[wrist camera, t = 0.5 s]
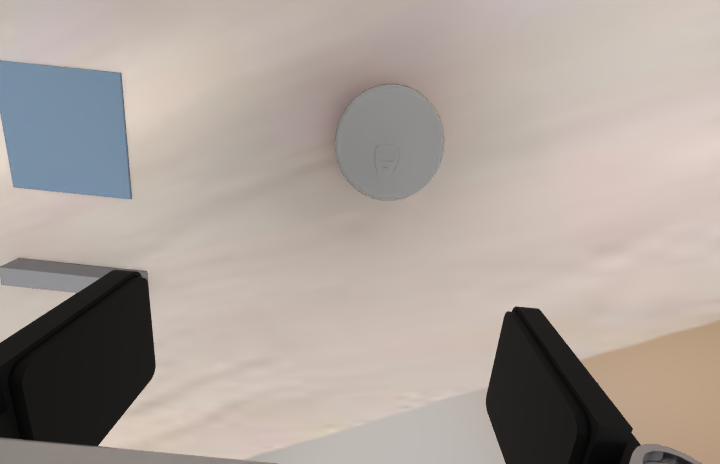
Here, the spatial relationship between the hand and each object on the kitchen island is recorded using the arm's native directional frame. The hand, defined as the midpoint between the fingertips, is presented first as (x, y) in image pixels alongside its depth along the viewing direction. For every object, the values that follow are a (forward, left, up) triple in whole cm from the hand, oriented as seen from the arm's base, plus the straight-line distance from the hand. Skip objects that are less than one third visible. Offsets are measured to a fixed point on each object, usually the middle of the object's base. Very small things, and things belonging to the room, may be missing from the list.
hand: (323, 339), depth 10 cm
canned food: (-3, +2, -30) cm, 31 cm away
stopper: (+15, -29, -30) cm, 44 cm away
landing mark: (0, -29, -30) cm, 42 cm away
